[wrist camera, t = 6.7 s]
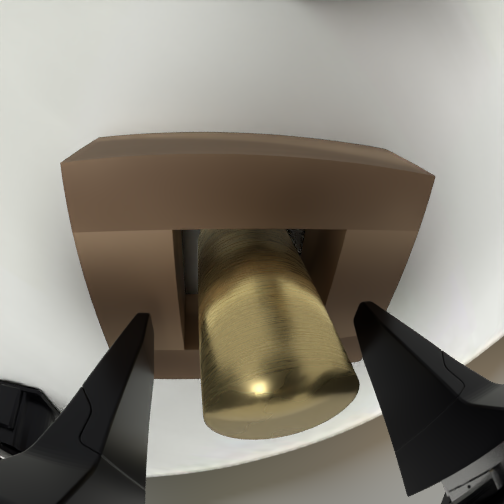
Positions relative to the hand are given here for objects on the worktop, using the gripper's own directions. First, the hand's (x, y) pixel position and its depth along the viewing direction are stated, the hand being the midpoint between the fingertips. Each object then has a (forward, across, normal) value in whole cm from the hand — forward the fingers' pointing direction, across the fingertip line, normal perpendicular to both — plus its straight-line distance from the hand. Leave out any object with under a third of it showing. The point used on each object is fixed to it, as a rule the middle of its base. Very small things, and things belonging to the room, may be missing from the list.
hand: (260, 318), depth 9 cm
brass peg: (+4, 0, 0) cm, 5 cm away
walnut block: (+4, 0, 0) cm, 4 cm away
